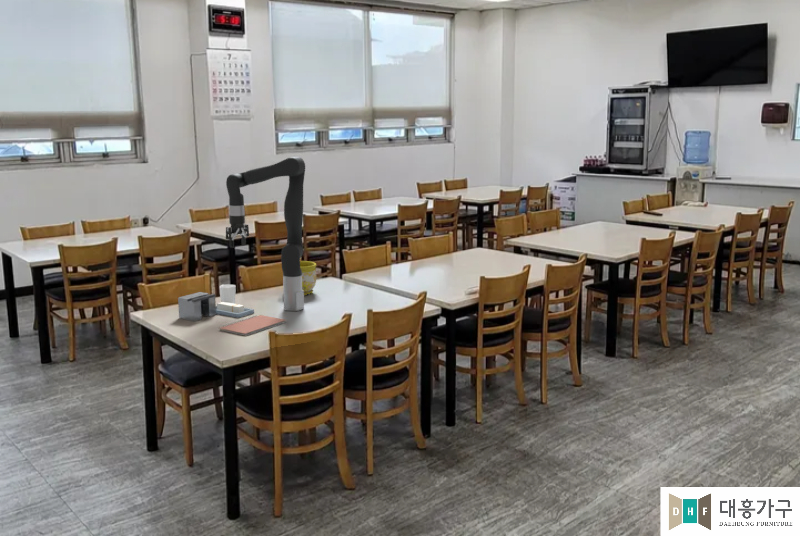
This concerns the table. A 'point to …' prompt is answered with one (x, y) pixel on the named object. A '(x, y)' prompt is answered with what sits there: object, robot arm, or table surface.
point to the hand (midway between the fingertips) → (237, 246)
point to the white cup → (228, 293)
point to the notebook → (252, 325)
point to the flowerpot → (308, 276)
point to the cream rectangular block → (230, 307)
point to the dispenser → (196, 306)
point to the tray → (237, 315)
